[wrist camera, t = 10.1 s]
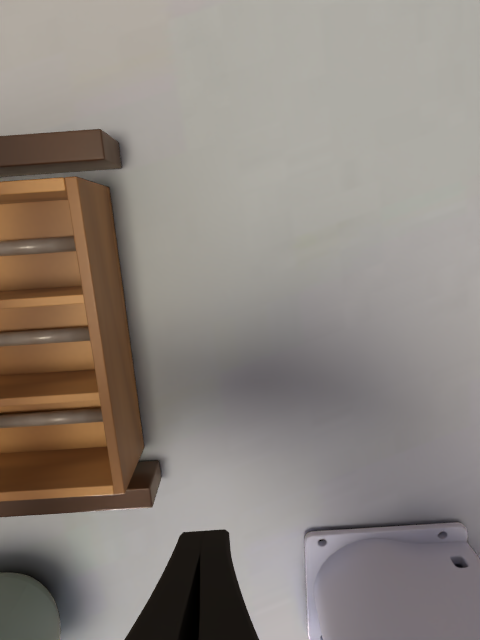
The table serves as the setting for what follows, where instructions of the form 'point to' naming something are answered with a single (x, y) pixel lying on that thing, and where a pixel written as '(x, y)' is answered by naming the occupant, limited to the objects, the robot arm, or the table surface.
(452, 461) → the table surface
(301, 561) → the table surface
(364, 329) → the table surface
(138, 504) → the stand
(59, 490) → the cutlery tray
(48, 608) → the cup
